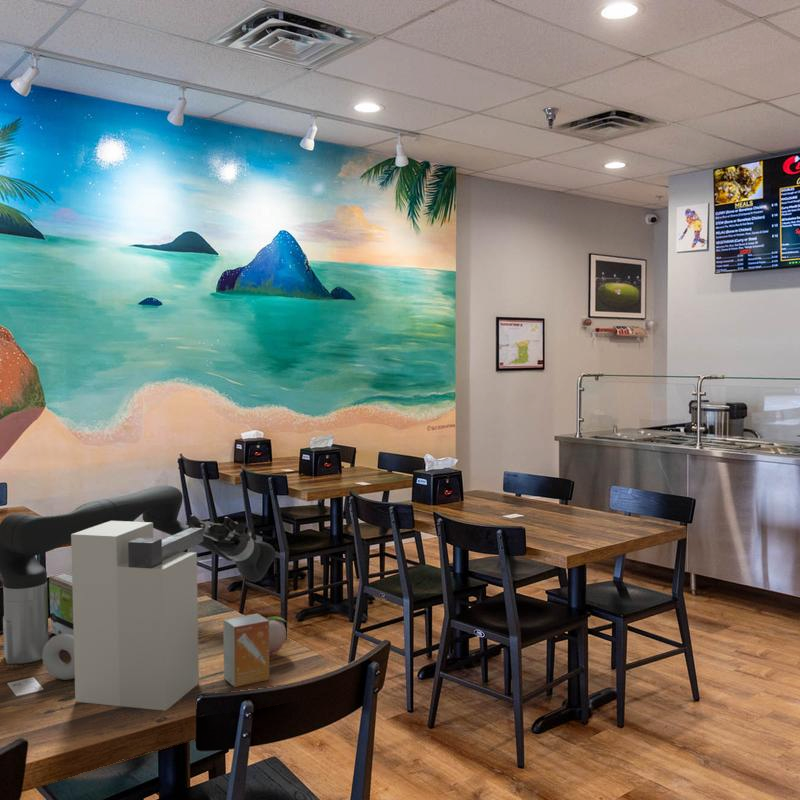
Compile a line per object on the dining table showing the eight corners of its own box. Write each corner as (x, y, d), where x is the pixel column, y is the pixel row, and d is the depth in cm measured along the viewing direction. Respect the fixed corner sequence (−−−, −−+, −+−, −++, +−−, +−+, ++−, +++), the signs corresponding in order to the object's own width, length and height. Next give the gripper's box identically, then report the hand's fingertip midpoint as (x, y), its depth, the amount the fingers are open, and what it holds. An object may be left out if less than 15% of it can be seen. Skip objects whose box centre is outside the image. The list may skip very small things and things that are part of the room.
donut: (39, 681, 176) (38, 635, 175) (48, 675, 179) (47, 630, 179) (83, 683, 175) (82, 637, 174) (91, 677, 178) (90, 631, 177)
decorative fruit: (253, 666, 184) (253, 622, 183) (242, 654, 191) (241, 612, 191) (293, 658, 188) (292, 615, 188) (280, 647, 196) (280, 606, 195)
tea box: (49, 634, 206) (47, 575, 206) (86, 624, 214) (85, 568, 213) (79, 647, 197) (77, 586, 196) (117, 636, 204) (116, 577, 204)
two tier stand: (114, 675, 179) (111, 520, 177) (199, 683, 174) (196, 524, 173) (75, 701, 165) (71, 534, 164) (165, 710, 161) (162, 538, 159)
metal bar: (186, 540, 185) (186, 518, 184) (207, 541, 183) (207, 519, 183) (128, 567, 161) (128, 542, 161) (151, 568, 160) (151, 543, 160)
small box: (234, 688, 172) (233, 627, 171) (223, 678, 177) (222, 619, 176) (270, 679, 176) (269, 619, 175) (258, 670, 181) (257, 612, 181)
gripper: (258, 558, 199) (233, 537, 185) (204, 555, 203) (175, 534, 189) (264, 528, 203) (240, 505, 189) (210, 526, 206) (183, 503, 192)
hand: (208, 520), depth 189 cm, fingers open, 8 cm apart
